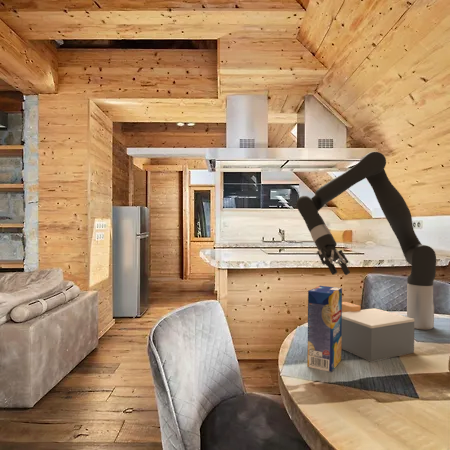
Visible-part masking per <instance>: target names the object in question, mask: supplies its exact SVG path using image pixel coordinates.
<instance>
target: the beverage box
mask: <svg viewBox="0 0 450 450" xmlns="http://www.w3.org/2000/svg"><path fill="white" fill-rule="evenodd" d="M342 298H343V287H337V286H335V287H334V286H326V285H319V286H316V287H315V288H312V289H310V290H308V291H307V364H306V365H307V368H312V369H315V370H321V371H324V372H329V373H332V372H333V370H335V368H336V367H337V365H339V363H340V362H341V361H342V349H341V342H342V312H343V311H342V302H343V299H342Z"/></svg>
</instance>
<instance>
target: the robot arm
mask: <svg viewBox="0 0 450 450" xmlns="http://www.w3.org/2000/svg"><path fill="white" fill-rule="evenodd" d="M386 165H387V158H386V157H385V155H384V154H383V153H381V152H379V151H370V152H368V153H366V154H364V155H363V156H362V157H361V159H360V160H359V162H358V163H356V164H355V165H354V166H352V167H351V168H350V169H348V170H347V171H345V172H343V173H342V174H340V175H338V176H337V177H335V178H333V179H331V180H330V181H328V182H326V183H325V184H323V185H321V186H320V187H319V188H318V189H316V191H315V192H314V195H313V196H312V197H310V196H308V195H301V196H299V197H298V199H297V200H296V203H295V204H296V205H295V206H296V208H297V210H298V213H299V214H300V216H301V217H302V219H303V220H304V222H305V225H306V227H307V229H308V231H309V233H310V235H311V238H312V240H313V242H314V245H315V246H316V248H317V250H318V251H317V252H316V253H317V255H318V257H319V259H320V261H321V263H322V265H325V266H326V267H327V268H328V269H329V272H330V273H331V276H332V275H336V274H337V273H338V269H337V268H336V266H335V264H334V263H336V264H338V265H339V266H340V268H341V270H342V273H343V274H344V275H345V276H347V275H350V273H351V271H350V268H349V267H348V265H347V264H349V261H348V260H349V259H348V258H347V257H346V255H345V253H344V252H343V250H341V249H339V250H338V249H337V248H336V247H337V242H336V239H335V238H334V236H333V234H332V232H331V231H330V228H329V227H328V226H327V224H326V223H325V220H324V219H323V217H322V216H321V214H320V213H319V211H320V210H321V209H322V208H323V207H324V206H325V205H326V204H328V203H329V202H330V201H333V200H334V199H335V198H337V197H338V196H340V195H342V194H343V193H345V192H346V191H347V190H349V189H350V188H352V187H353V186H354V185H356V184H358V183H359V182H361V181H363V180H365V179H366V180H367V182H368V183H369V185H370V186H371V188H372V190H373V193H374V195H375V198H376V200H377V202H378V204H379V206H380V209H381V211H382V213H383V215H384V217H385V219H386V220H387V222H388V224H389V226H390V228H391V229H392V231H393V233H394V235H395V237H396V238H397V241H398V244H399V246H400V249H401V251H402V254H403V256H404V259H405V261H406V262H407V264H408V265H409V264H410V265H411V270H410V273H409V275H408V276H407V277H406V280H407V281H406V283H407V284H406V285H407V286H406V293H407V294H406V297H407V298H406V317H409V318H413V319H414V329H416V330H424V331H425V330H432V329H434V327H435V304H434V280H435V279H436V273H437V271H436V269H437V255H436V251H435V250H434V248H433V247H432V246H430V245H425V244H423V243H421V241H420V239H419V238H418V236H417V234H416V232H415V230H414V225H413V217H412V215H411V214H412V213H411V211H410V208H409V207H408V204H407V203H406V200H405V199H404V197H403V196H402V194H401V193H400V192H399V190H398V188H396V187H395V186H394V184H393V183H392V182H391V180H390V179H389V177H388V174H387V173H386V170H385V168H386ZM333 262H334V263H333Z"/></svg>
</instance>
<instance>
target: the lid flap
mask: <svg viewBox="0 0 450 450" xmlns="http://www.w3.org/2000/svg"><path fill="white" fill-rule="evenodd" d="M342 319H345V320H348V321H351V322H354V323H357V324H360V325H363V326H366V327H369V328H377V327H383V326H390V325H396V324H402V323H408V322H414V319H413V318H409V317H407V316H405V315H401V314H398V313H394V312H390V311H386V310H382V309H379V308H375V307H374V308H366V309H365V308H364V309H361V305H358V304H354V303H350V302H349V301H348V302H347V301H342Z"/></svg>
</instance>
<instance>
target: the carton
mask: <svg viewBox="0 0 450 450" xmlns="http://www.w3.org/2000/svg"><path fill="white" fill-rule="evenodd" d="M341 350H344V351H347V353H350V354H352V353H353V354H352V355H356V356H357V357H359V358H361V359H364V360H366V361H368V362H371V363H372V362H377V361H382V360H385V359H391V358H395V357H399V356H400V357H401V356H404V355H409V354H413V353H415V328H414V322H408V323H402V324H396V325H390V326H383V327H377V328H369V327H366V326H363V325H360V324H357V323H354V322H351V321H348V320H345V319H342V342H341Z"/></svg>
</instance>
